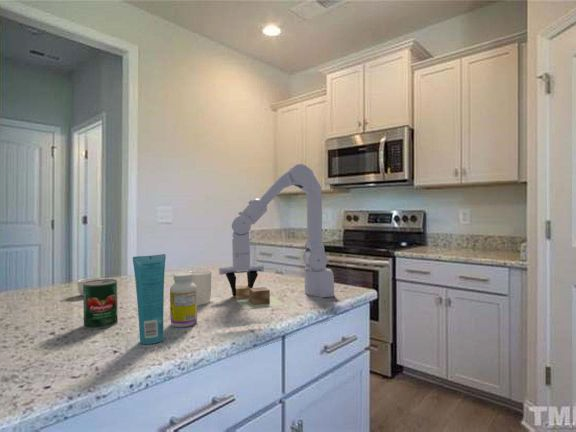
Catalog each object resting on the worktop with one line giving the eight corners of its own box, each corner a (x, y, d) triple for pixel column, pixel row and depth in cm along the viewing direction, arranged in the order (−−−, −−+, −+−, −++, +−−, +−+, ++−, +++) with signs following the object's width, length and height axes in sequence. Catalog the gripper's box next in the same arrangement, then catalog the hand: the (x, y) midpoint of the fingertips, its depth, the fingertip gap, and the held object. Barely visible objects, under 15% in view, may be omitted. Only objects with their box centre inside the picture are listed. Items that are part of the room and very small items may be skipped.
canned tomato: (94, 331, 90) (94, 286, 90) (77, 326, 95) (76, 283, 94) (124, 322, 97) (123, 280, 97) (106, 318, 101) (105, 278, 101)
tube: (160, 334, 88) (159, 252, 87) (172, 338, 84) (170, 254, 84) (130, 343, 82) (128, 256, 82) (141, 348, 79) (139, 257, 78)
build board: (272, 299, 121) (272, 296, 121) (284, 308, 109) (284, 304, 109) (235, 302, 116) (235, 299, 116) (244, 312, 105) (244, 309, 105)
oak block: (247, 297, 124) (246, 285, 124) (250, 300, 120) (250, 287, 120) (233, 298, 123) (233, 286, 122) (236, 301, 118) (236, 289, 118)
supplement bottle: (175, 320, 99) (174, 271, 99) (200, 320, 99) (199, 271, 98) (166, 328, 92) (165, 276, 92) (193, 328, 92) (192, 276, 92)
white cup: (205, 309, 110) (205, 275, 110) (181, 307, 111) (180, 274, 111) (216, 302, 117) (215, 270, 117) (192, 301, 119) (192, 270, 119)
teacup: (91, 298, 125) (91, 282, 125) (72, 297, 127) (71, 281, 127) (111, 291, 135) (111, 277, 135) (93, 291, 137) (93, 276, 137)
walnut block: (264, 299, 116) (264, 286, 116) (269, 303, 111) (269, 290, 111) (249, 301, 114) (249, 288, 114) (253, 305, 110) (253, 291, 110)
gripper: (259, 250, 127) (259, 290, 127) (216, 253, 122) (217, 294, 122) (265, 253, 121) (266, 294, 121) (220, 255, 116) (221, 299, 116)
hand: (241, 294), depth 121 cm, fingers closed on oak block, 4 cm apart
